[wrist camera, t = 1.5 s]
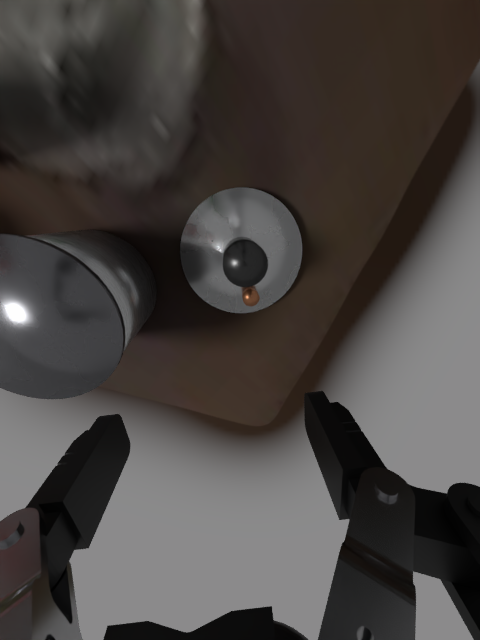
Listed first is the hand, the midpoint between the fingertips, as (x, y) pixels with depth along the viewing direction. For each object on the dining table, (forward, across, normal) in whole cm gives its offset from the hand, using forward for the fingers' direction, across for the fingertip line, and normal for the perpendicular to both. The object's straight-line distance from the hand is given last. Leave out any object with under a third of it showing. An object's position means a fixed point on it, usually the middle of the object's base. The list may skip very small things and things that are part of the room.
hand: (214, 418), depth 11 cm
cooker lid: (+20, -3, -5) cm, 20 cm away
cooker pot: (+19, +13, -3) cm, 23 cm away
